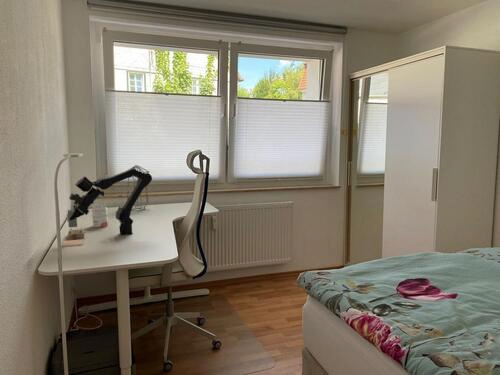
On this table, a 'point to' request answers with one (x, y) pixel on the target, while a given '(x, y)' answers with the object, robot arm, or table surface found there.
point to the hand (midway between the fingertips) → (69, 219)
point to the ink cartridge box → (99, 215)
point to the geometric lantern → (134, 187)
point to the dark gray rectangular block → (71, 222)
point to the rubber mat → (72, 243)
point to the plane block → (76, 234)
